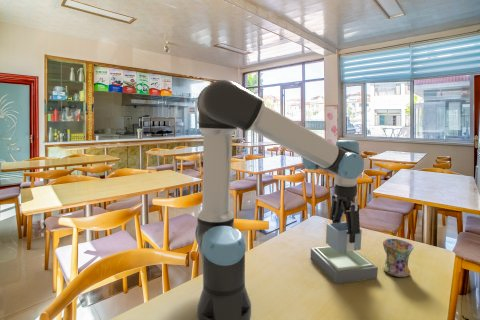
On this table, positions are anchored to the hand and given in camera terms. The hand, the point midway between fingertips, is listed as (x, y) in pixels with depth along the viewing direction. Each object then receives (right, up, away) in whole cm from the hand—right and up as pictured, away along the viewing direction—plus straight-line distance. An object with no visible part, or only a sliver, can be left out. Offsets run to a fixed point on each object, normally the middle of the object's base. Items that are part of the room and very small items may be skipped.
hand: (343, 245), depth 106 cm
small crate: (0, 0, 0) cm, 0 cm away
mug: (+18, -9, -1) cm, 20 cm away
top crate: (0, -9, +1) cm, 9 cm away
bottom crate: (0, -9, +1) cm, 9 cm away
